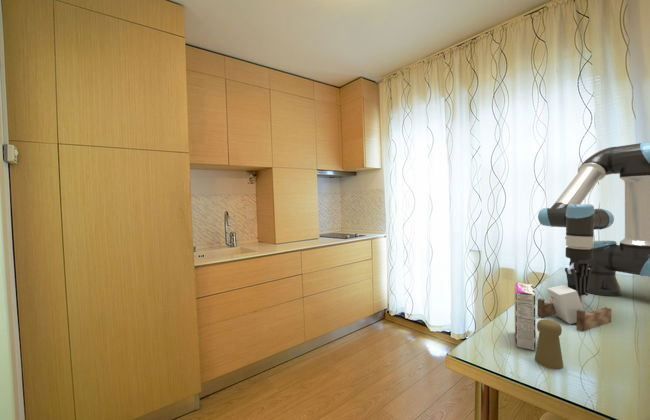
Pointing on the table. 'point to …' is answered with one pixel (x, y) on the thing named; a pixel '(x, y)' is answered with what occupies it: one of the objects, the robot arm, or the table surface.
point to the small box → (565, 302)
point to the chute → (583, 319)
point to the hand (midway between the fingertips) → (578, 312)
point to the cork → (549, 345)
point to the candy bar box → (525, 316)
